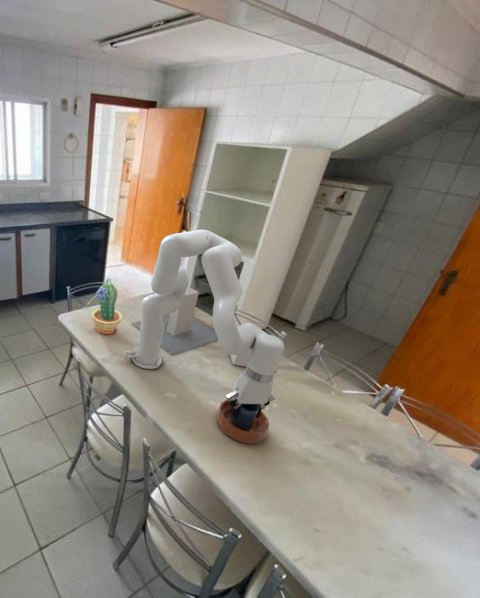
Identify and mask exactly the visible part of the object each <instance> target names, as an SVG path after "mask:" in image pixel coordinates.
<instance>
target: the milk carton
mask: <svg viewBox="0 0 480 598" xmlns="http://www.w3.org/2000/svg"><path fill="white" fill-rule="evenodd" d="M244 323H245V322H244ZM244 323H242V324H244ZM254 325H255V326H257V327H258V328H260V329H261V328H262V325H260V324H259V325H258V324H254ZM261 330H262V329H261ZM251 353H252V350H251V349H248V350H247V351H245V352H243V353H241V354H239V355H231V354H229V355H230V356H229V357H230V359H231V361H232V362H231V363H232V364H233V365H234V366H239V367H246V368H247V365H248V362H249V359H250V356H251Z"/></svg>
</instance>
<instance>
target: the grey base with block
mask: <svg viewBox="0 0 480 598" xmlns="http://www.w3.org/2000/svg"><path fill="white" fill-rule="evenodd" d="M199 294H200V293H199V291H197V290H195V289H194V288H191V287H189V290H188V293H187V294H185V296H184V298H183V301H182V304H181V306H180V307H179V309H178V310H176V311H174V312H172V313H169V314H167V315H164V316H163V318H162V320H163V322H164V331H163V337H162V342H161V348H163V349H164V351H165V350H166V351H167V352H168V353H169V354H170V355H174V356H175V355H177V354H180V353H182V352H186V351H189V350H191V349H194V348H197V347H200V346H203V345H206V344H209V343H212V342H215V341H217V340H218V338H217V335H216V333H215V330H214V328H211V327H209V326H208V325H207V324H204V323H203V322H202V321H200V320H198V319H196V318H195V317H194V316H195V313H196V312H195V310H196V306H197V302H198V298H199ZM132 325H133V326H134V327H135V328H137V329H138V330H140V325H141V321H140V322H137V323H134V324H132Z"/></svg>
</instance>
